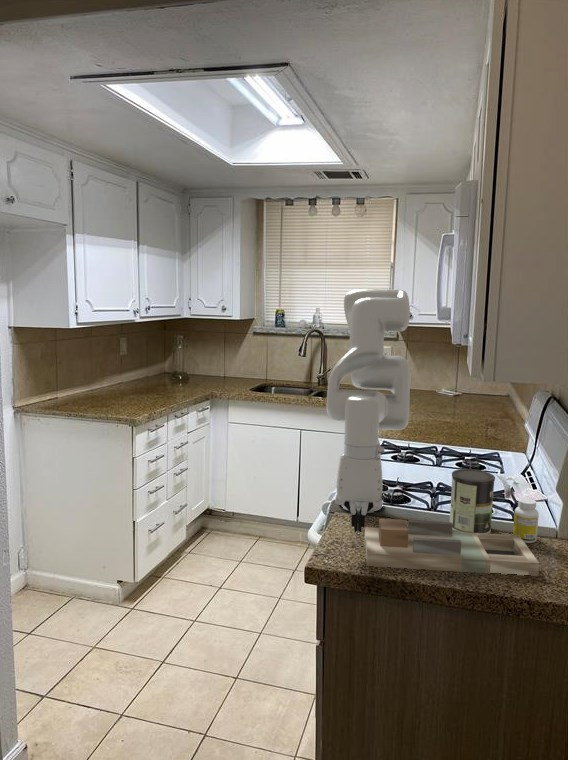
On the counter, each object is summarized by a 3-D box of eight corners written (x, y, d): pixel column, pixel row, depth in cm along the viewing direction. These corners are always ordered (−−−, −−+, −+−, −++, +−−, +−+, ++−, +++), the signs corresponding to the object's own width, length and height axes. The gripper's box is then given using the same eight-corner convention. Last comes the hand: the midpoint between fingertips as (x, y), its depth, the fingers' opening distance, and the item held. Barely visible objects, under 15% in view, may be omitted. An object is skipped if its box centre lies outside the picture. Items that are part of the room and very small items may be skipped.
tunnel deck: (364, 538, 140) (365, 515, 139) (518, 547, 136) (520, 523, 135) (367, 566, 126) (368, 540, 125) (538, 576, 123) (540, 549, 122)
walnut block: (378, 534, 135) (379, 518, 134) (404, 536, 134) (405, 519, 134) (380, 546, 129) (381, 529, 128) (407, 547, 128) (408, 530, 128)
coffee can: (487, 522, 151) (491, 470, 149) (493, 538, 141) (498, 483, 139) (447, 518, 153) (450, 467, 151) (450, 534, 143) (453, 479, 141)
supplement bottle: (518, 532, 145) (521, 495, 143) (540, 539, 141) (543, 500, 139) (508, 538, 141) (511, 500, 140) (530, 545, 137) (534, 506, 136)
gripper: (393, 448, 132) (389, 525, 134) (327, 445, 133) (325, 521, 136) (396, 457, 125) (392, 538, 127) (326, 454, 126) (324, 534, 128)
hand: (357, 529), depth 131 cm, fingers closed
